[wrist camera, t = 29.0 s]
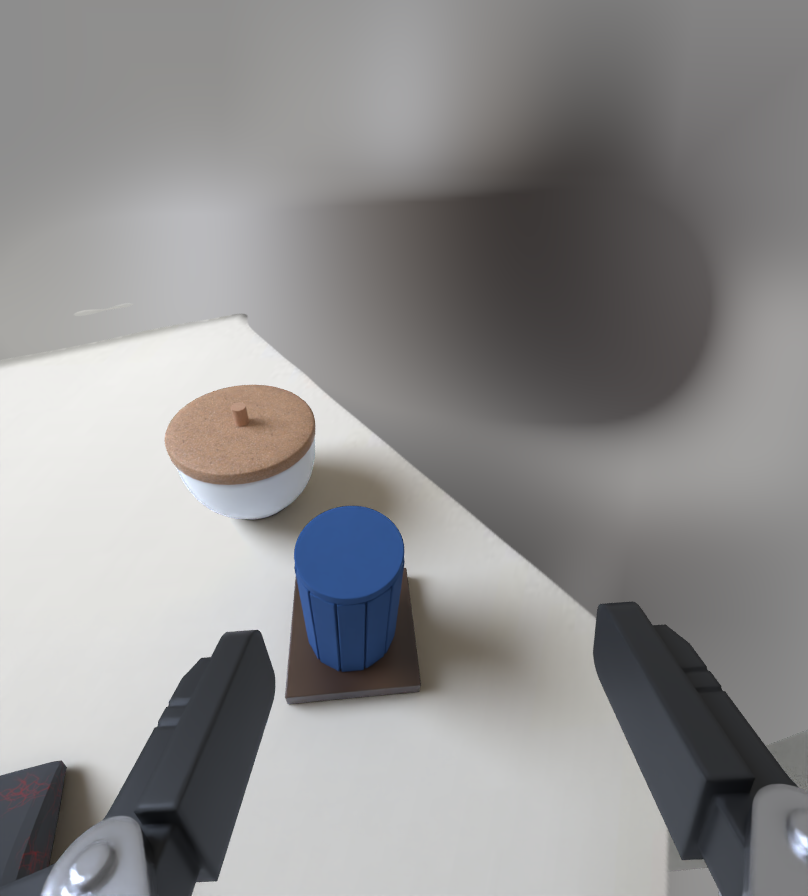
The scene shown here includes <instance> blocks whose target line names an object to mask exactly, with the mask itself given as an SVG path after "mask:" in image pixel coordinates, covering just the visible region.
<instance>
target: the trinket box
mask: <svg viewBox="0 0 808 896" xmlns="http://www.w3.org/2000/svg"><path fill="white" fill-rule="evenodd" d="M165 446H166V449H167V452H168V454H169V456H170V458H171V461H172V462H173V464H174V465H175V466H176V468H177V470H178V473H179V475H180V477H181V479H182V481H183V482H184V484H185V485H186V487H187V488H188V489H189V491H190V492H191V493H192V494H193V495H194V497H195V498H196V499H197V500H198V501H199V502H200V503H202V504H203V505H204V506H206V507H207V508H209V509H210V510H212V511H214V512H216V513H218V514H221V515H224V516H227V517H231V518H236V519H252V520H253V519H261V518H266V517H269V516H271V515H274V514H276V513H277V512H279V511H281V510H282V509H283V508H285V507H287V506H288V505H289V504H291V503H292V502H293V501H294V500H295V499H296V498H297V497H298V496H299V495H300V494H301V493H302V491H303V490H304V488H305V487H306V485H307V483H308V481H309V478H310V476H311V473H312V469H313V465H314V460H315V419H314V415H313V412H312V410H311V408H310V407H309V406H308V405H307V403H306V402H305V401H304V400H302V399H301V398H300V397H298V396H297V395H295V394H293V393H292V392H289V391H287V390H284V389H280V388H277V387H272V386H265V385H242V386H233V387H228V388H224V389H220V390H216V391H213V392H211V393H208V394H205V395H203V396H201V397H199V398H197V399H195V400H193V401H192V402H190V403H189V404H187V405H186V406H185V407H183V408H182V409H181V410H180V411H179V412H178V413H177V414H176V415H175V416H174V417H173V419H172V420H171V422H170V423H169V425H168V428H167V430H166V433H165Z"/></svg>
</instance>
